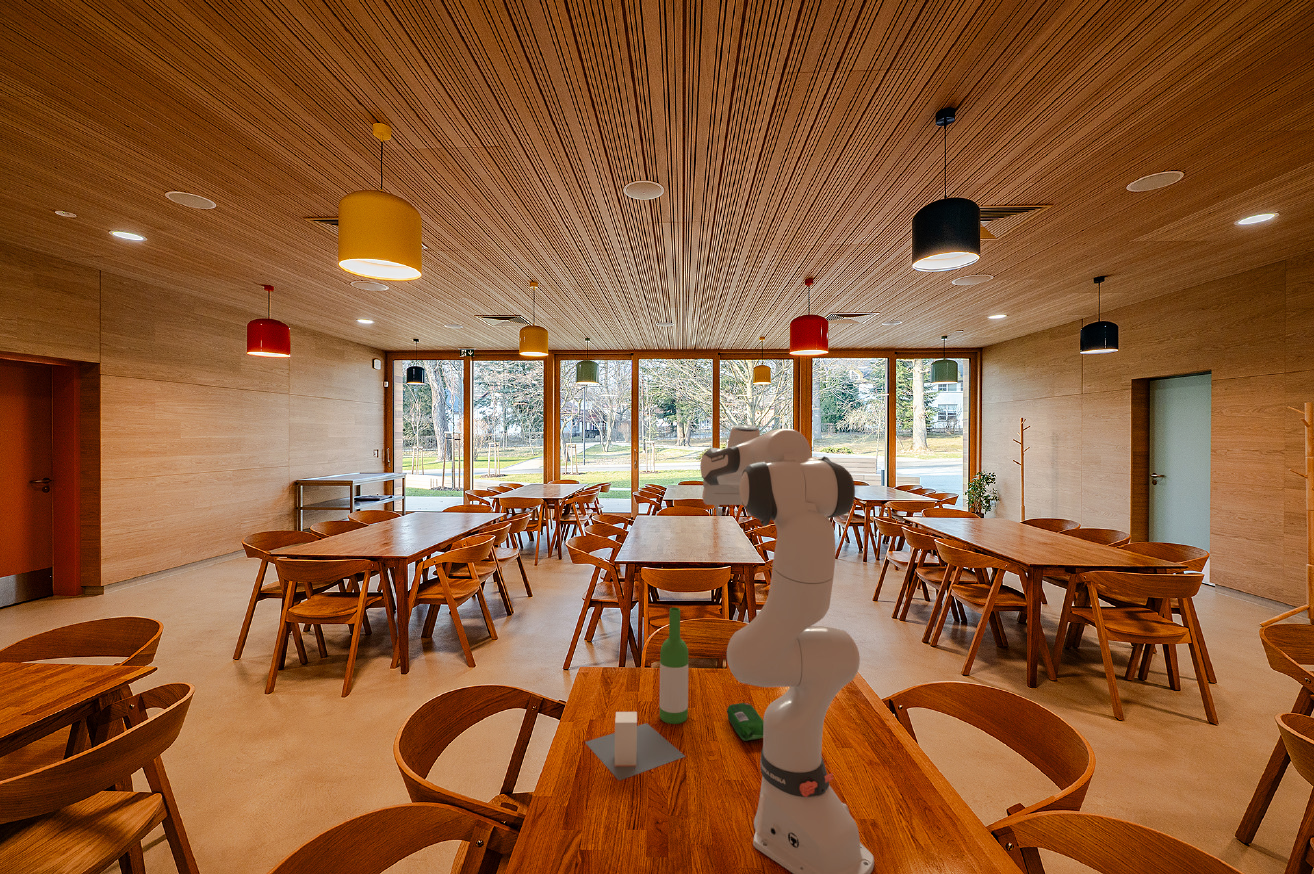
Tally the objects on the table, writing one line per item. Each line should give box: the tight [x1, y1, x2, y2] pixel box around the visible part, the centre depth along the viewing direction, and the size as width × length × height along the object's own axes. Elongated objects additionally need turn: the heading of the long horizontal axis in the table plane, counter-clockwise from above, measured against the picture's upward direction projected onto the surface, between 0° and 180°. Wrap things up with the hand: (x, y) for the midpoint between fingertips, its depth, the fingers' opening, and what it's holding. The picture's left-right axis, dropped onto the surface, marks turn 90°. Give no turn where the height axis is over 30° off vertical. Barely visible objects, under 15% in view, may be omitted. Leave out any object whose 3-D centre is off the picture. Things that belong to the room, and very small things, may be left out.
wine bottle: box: [659, 607, 689, 725], centre depth 146 cm, size 8×8×30 cm
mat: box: [584, 722, 687, 782], centre depth 130 cm, size 18×18×1 cm
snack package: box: [726, 702, 764, 742], centre depth 140 cm, size 7×16×5 cm, turn 10°
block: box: [614, 711, 638, 767], centre depth 125 cm, size 5×5×10 cm
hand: (734, 514), depth 161 cm, fingers open, 8 cm apart
